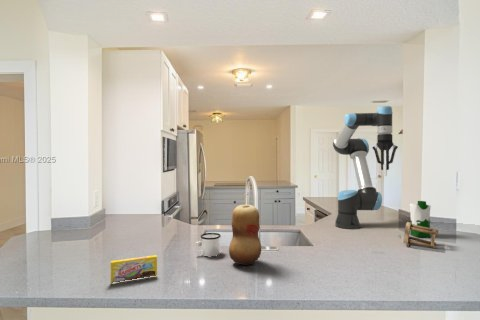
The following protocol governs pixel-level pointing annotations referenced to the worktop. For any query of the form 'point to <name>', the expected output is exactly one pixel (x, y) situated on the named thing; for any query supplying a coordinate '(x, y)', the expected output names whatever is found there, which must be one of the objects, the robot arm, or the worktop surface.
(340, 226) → the robot arm
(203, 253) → the mug
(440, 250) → the mat
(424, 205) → the milk carton
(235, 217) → the butternut squash
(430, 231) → the stool
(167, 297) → the worktop surface
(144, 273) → the candy box
